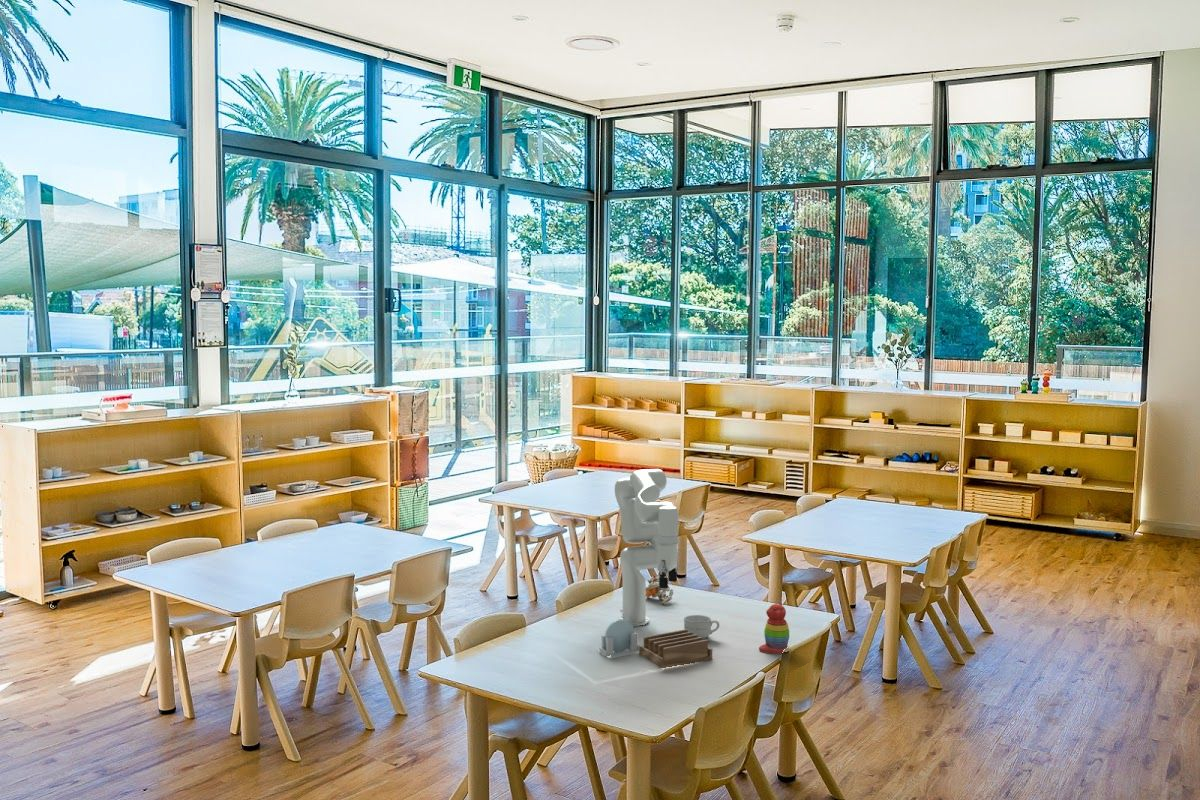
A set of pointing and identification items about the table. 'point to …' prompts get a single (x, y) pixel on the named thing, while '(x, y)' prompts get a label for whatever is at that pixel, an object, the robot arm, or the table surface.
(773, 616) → the stacking bear
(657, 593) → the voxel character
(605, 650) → the holder
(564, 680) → the table surface
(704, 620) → the teacup
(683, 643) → the rack
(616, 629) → the plate
